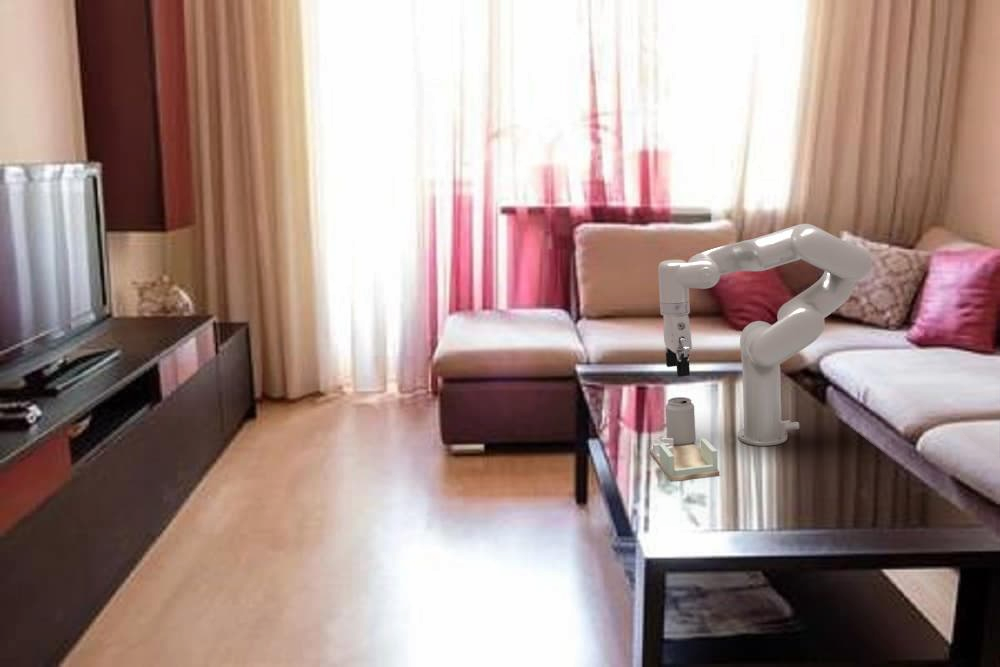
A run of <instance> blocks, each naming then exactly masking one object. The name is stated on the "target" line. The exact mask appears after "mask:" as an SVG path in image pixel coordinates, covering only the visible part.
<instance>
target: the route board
mask: <svg viewBox="0 0 1000 667" xmlns="http://www.w3.org/2000/svg"><path fill="white" fill-rule="evenodd" d="M649 454H650V456H652V458H653V459H654V461H655V462H656V463H657V465H658V466H659V467H660V469H661V470H662V471H663V473H664V474H665V476H666V477H667V478H668V479H669V481H670V482H677V481H678V482H679V481H685V480H687V481H688V480H694V479H702V478H709V477H710V478H712V477H717V476H716V475H719V476H720V470H719V469H718V470H715V471H714V472H708V473H700V474H692V475H684V476H670V475H669V474H668V473H667V471H666V470H665V469H664V467H663V466H662V465H661V464H660V459H659V458H657V457H655V456H653V448H652V449H649ZM704 465H707V464H706V462H705V461H704V460H703V459H702V458H701V449H699V448H698V446H696V444H693V443H692V444H691V445H684V446H674V468H675V469H680V468H688V467H696V466H704Z"/></svg>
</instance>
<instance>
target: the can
mask: <svg viewBox="0 0 1000 667" xmlns="http://www.w3.org/2000/svg"><path fill="white" fill-rule="evenodd" d="M665 422H666V427H665V428H666V438H673V441H674V447H676V446H684V445H692V444H693V443H694V442H695V441H696V421H695V405H694V403H692V399H691V398H689V397H685V396H684V397H683V396H679V397H676V396H675V397H671V398H669V399H667V403H666V405H665Z"/></svg>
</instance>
